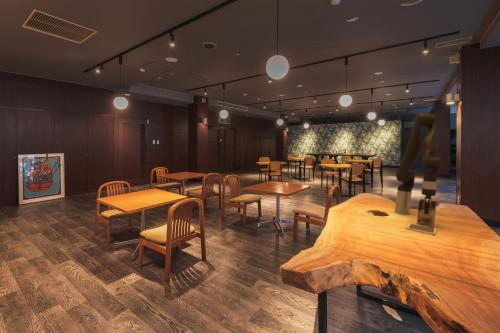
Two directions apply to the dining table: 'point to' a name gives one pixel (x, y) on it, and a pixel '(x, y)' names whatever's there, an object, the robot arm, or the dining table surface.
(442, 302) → the dining table surface
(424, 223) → the coffee box
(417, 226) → the mat
